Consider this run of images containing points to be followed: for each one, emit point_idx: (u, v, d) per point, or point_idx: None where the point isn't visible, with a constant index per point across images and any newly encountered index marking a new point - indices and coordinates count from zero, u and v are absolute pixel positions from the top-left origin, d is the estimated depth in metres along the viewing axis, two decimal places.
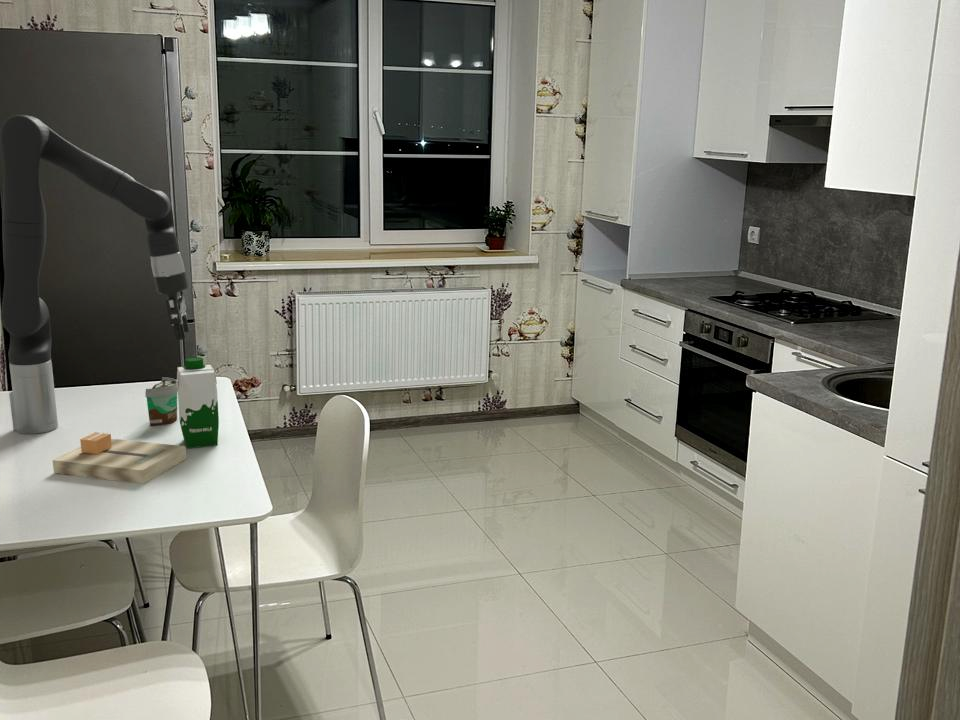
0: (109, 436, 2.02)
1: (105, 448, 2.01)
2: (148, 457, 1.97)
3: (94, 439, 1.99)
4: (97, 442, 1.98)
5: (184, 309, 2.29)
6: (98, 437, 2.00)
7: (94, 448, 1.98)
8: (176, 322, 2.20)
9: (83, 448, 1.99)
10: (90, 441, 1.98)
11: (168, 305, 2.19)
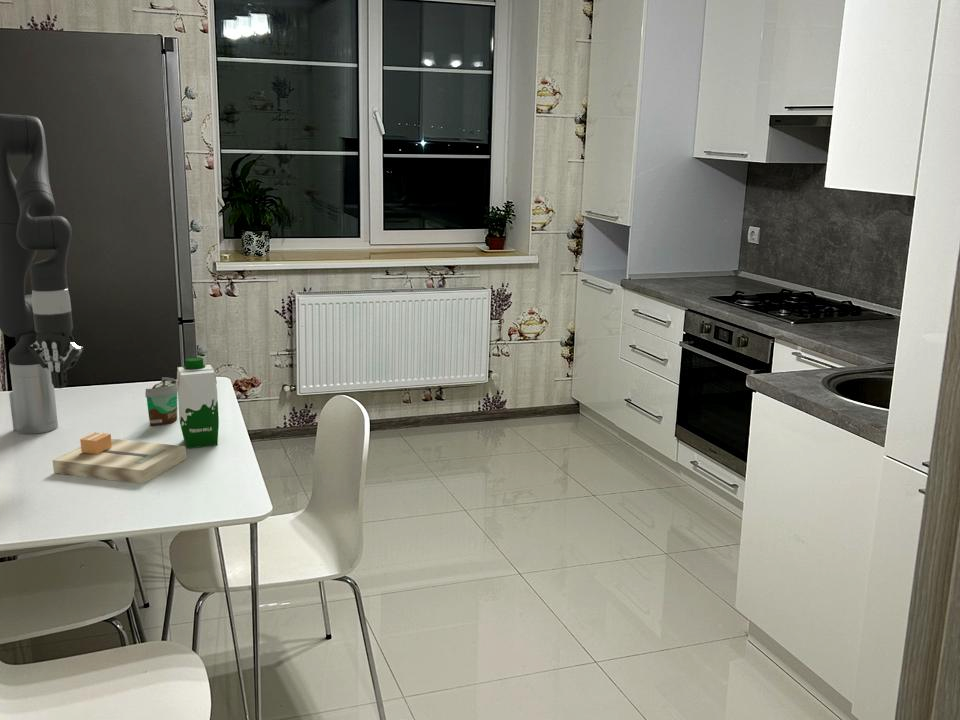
0: (109, 436, 2.02)
1: (105, 448, 2.01)
2: (148, 457, 1.97)
3: (94, 439, 1.99)
4: (97, 442, 1.98)
5: None
6: (98, 437, 2.00)
7: (94, 448, 1.98)
8: None
9: (83, 448, 1.99)
10: (90, 441, 1.98)
11: None
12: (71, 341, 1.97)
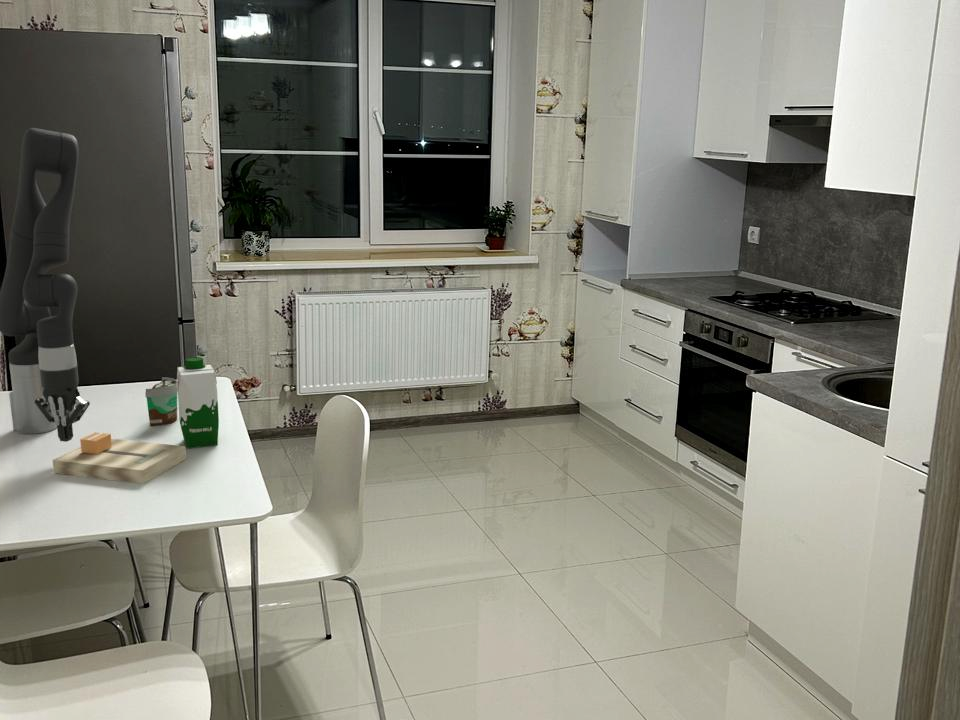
0: (109, 436, 2.02)
1: (105, 448, 2.01)
2: (148, 457, 1.97)
3: (94, 439, 1.99)
4: (97, 442, 1.98)
5: None
6: (98, 437, 2.00)
7: (94, 448, 1.98)
8: None
9: (83, 448, 1.99)
10: (90, 441, 1.98)
11: None
12: (77, 396, 2.00)
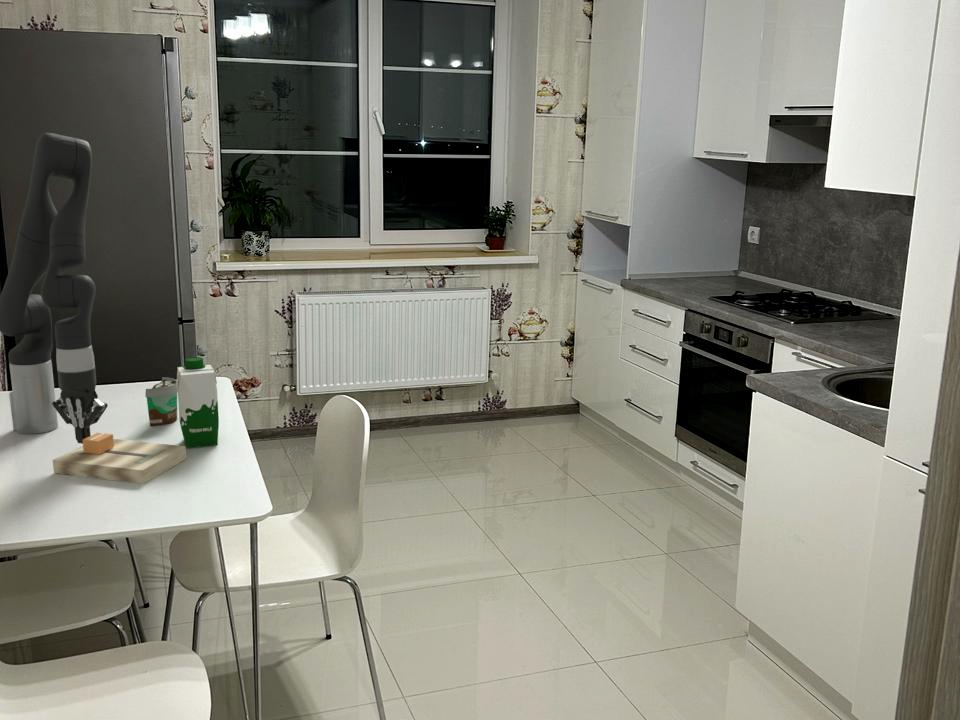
0: (111, 436, 2.02)
1: (107, 448, 2.01)
2: (148, 457, 1.97)
3: (96, 439, 1.99)
4: (99, 442, 1.98)
5: None
6: (100, 437, 2.00)
7: (96, 448, 1.98)
8: None
9: (85, 448, 1.99)
10: (92, 441, 1.98)
11: None
12: (95, 397, 1.98)
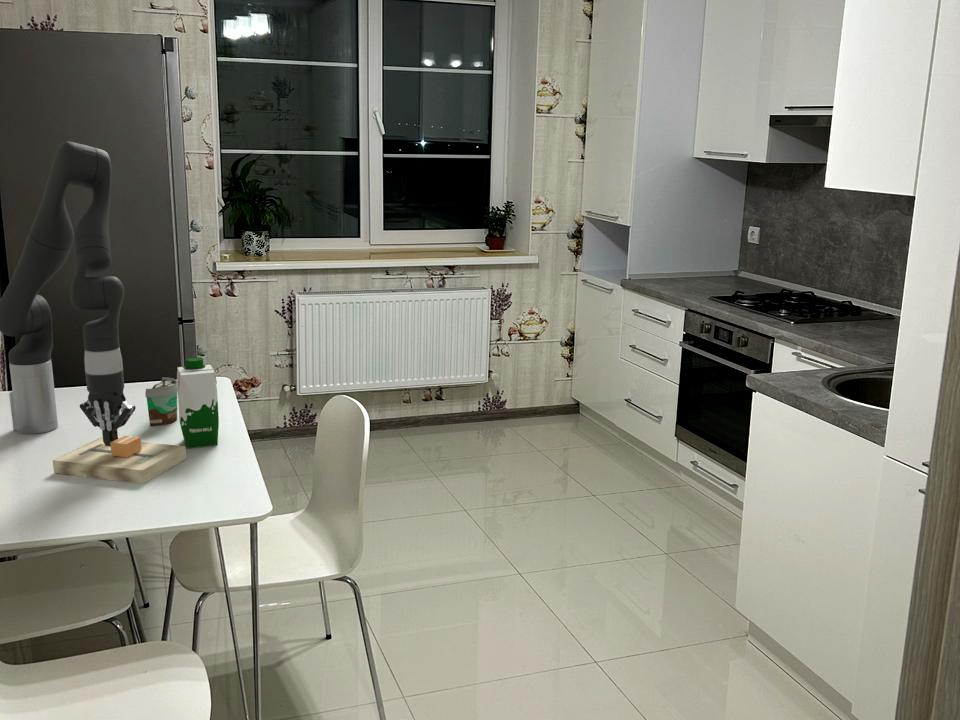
0: (139, 439, 2.00)
1: (135, 451, 1.99)
2: (148, 457, 1.97)
3: (124, 442, 1.97)
4: (127, 445, 1.97)
5: None
6: (128, 440, 1.98)
7: (124, 451, 1.97)
8: None
9: (113, 451, 1.97)
10: (120, 444, 1.96)
11: None
12: (123, 400, 1.97)
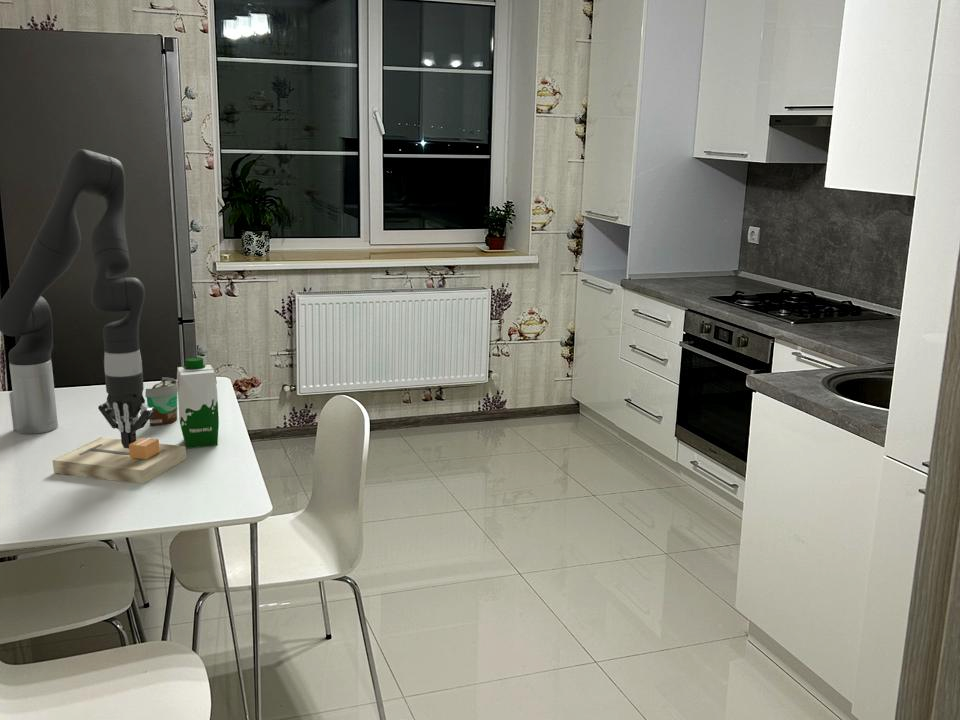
0: (157, 441, 1.99)
1: (153, 453, 1.98)
2: None
3: (143, 444, 1.96)
4: (146, 447, 1.95)
5: None
6: (146, 442, 1.97)
7: (143, 454, 1.95)
8: None
9: (131, 453, 1.96)
10: (139, 446, 1.95)
11: None
12: (142, 402, 1.95)
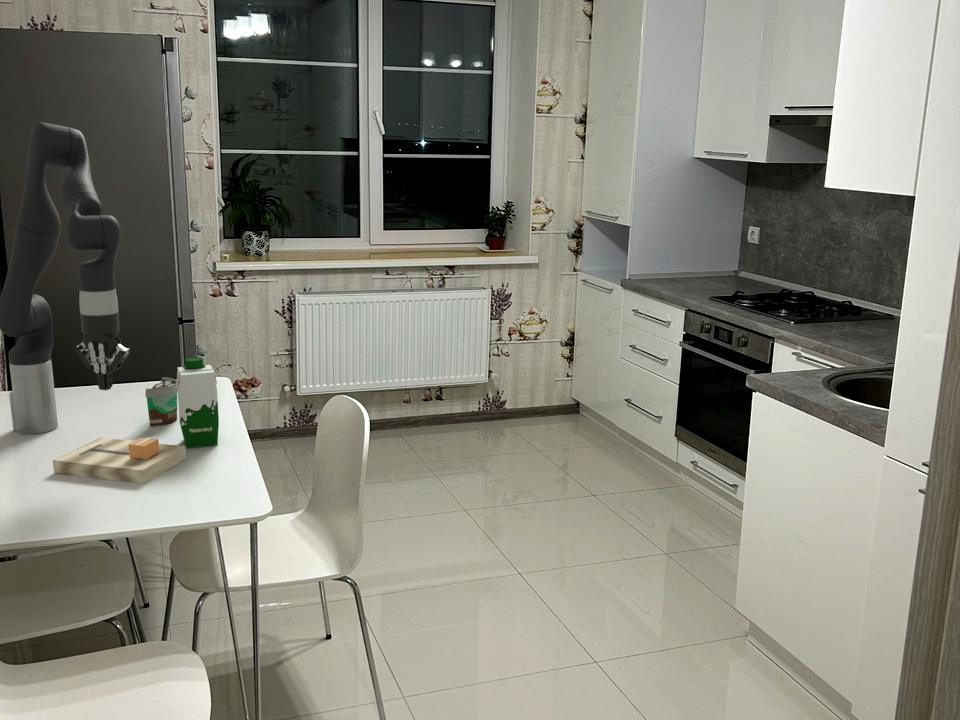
0: (157, 441, 1.99)
1: (153, 453, 1.98)
2: None
3: (142, 444, 1.96)
4: (146, 447, 1.95)
5: None
6: (146, 442, 1.97)
7: (142, 453, 1.95)
8: None
9: (131, 453, 1.96)
10: (138, 446, 1.95)
11: None
12: (118, 343, 1.93)
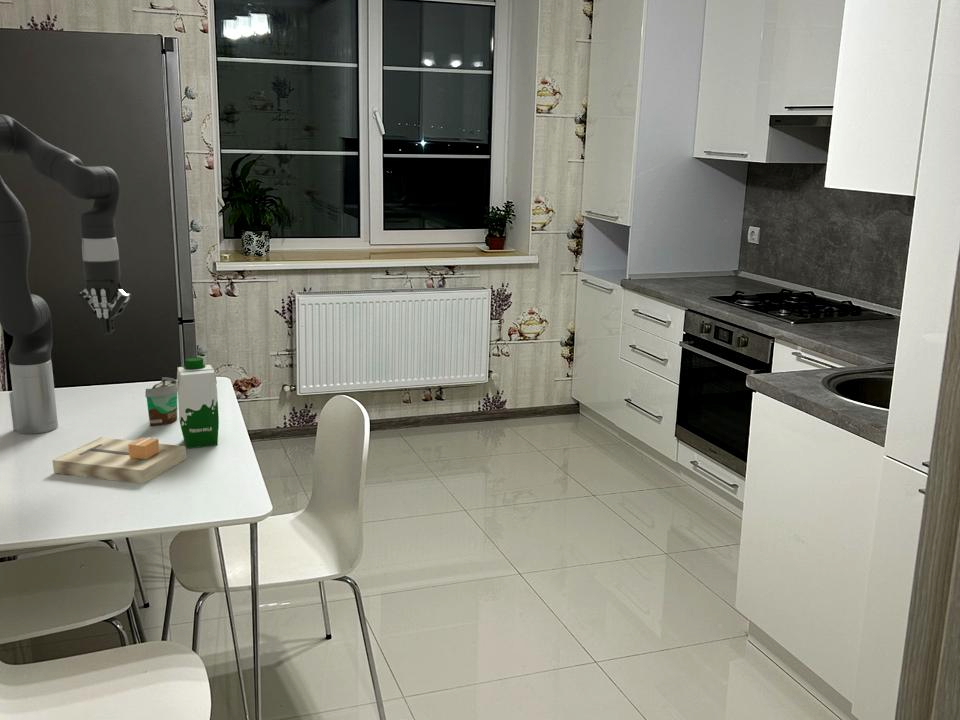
0: (157, 441, 1.99)
1: (153, 453, 1.98)
2: None
3: (142, 444, 1.96)
4: (146, 447, 1.95)
5: None
6: (146, 442, 1.97)
7: (142, 453, 1.95)
8: None
9: (131, 453, 1.96)
10: (138, 446, 1.95)
11: None
12: (119, 288, 2.03)
